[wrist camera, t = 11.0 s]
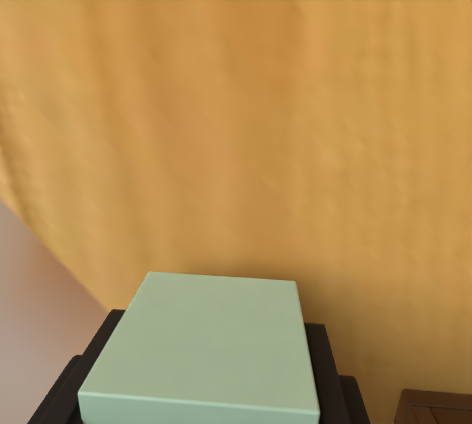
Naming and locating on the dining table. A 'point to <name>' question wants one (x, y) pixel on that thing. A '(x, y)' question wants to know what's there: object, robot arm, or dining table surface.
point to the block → (205, 356)
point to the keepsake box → (434, 408)
